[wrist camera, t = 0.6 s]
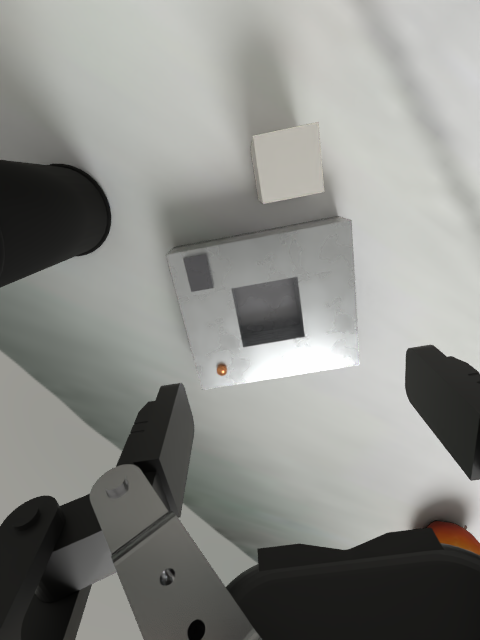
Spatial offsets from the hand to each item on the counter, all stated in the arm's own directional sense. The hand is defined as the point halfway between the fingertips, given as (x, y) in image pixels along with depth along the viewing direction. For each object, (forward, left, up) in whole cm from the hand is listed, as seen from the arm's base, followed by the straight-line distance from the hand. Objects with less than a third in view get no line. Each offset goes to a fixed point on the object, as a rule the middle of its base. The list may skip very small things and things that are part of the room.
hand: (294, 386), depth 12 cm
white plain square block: (-8, +3, -23) cm, 24 cm away
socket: (+4, 0, -23) cm, 23 cm away
